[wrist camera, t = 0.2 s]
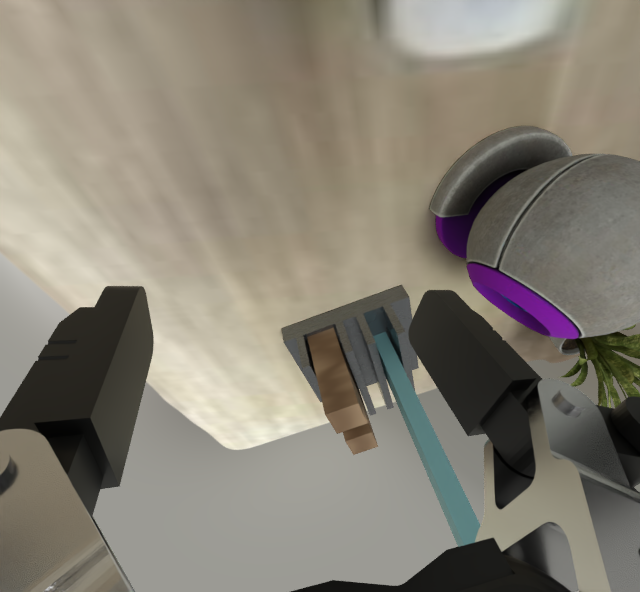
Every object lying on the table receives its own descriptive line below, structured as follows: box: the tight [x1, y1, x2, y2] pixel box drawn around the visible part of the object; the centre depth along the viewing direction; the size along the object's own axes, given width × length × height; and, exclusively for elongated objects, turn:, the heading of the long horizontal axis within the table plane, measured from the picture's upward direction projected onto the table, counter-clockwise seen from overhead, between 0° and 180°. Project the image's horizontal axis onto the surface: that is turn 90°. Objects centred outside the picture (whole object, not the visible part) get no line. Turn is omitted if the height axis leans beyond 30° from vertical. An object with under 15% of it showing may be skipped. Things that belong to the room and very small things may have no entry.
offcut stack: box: [307, 328, 378, 454], centre depth 35 cm, size 3×13×9 cm, turn 17°
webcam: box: [429, 126, 640, 339], centre depth 24 cm, size 13×13×15 cm
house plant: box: [549, 324, 640, 408], centre depth 37 cm, size 14×14×16 cm
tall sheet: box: [373, 332, 480, 547], centre depth 29 cm, size 2×6×22 cm, turn 17°
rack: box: [282, 285, 418, 415], centre depth 37 cm, size 14×14×6 cm
